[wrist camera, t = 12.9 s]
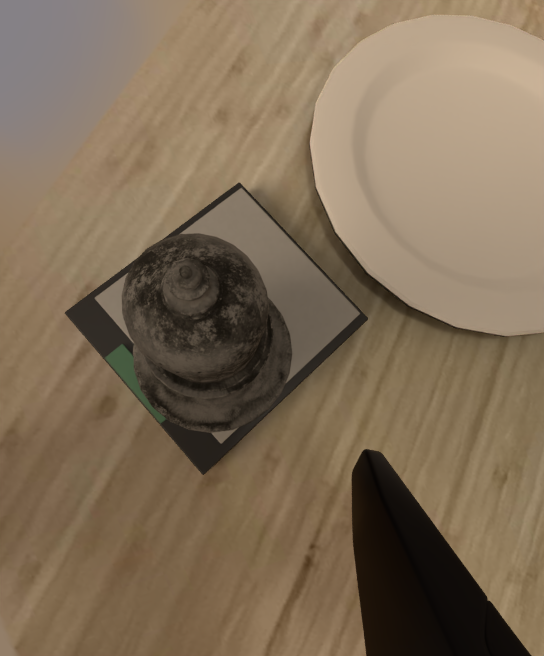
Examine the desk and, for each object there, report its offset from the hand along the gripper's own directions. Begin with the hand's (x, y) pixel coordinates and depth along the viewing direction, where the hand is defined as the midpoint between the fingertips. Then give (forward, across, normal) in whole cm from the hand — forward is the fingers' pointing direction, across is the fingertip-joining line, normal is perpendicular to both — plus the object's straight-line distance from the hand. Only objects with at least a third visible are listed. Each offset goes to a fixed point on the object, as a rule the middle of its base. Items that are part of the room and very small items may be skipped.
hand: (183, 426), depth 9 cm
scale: (+10, 0, +3) cm, 11 cm away
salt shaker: (+8, 0, +4) cm, 8 cm away
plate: (+19, -13, -5) cm, 23 cm away
